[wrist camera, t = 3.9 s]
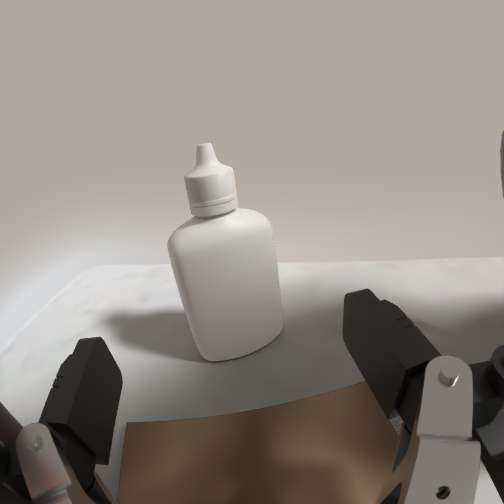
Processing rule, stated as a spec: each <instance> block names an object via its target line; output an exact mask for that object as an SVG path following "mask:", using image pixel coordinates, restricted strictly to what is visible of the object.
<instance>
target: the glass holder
mask: <svg viewBox="0 0 504 504" xmlns="http://www.w3.org/2000/svg"><path fill="white" fill-rule="evenodd" d="M500 152H501V179H502V189H503V197H504V131H503V133H502V141H501V150H500Z"/></svg>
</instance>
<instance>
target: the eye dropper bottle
mask: <svg viewBox="0 0 504 504" xmlns="http://www.w3.org/2000/svg"><path fill="white" fill-rule="evenodd" d="M184 179H185V183H186V189H187V194H188V199H189V204H190V209H191V214H192V215H194V217H193V218H192V219H190V220H188V221H187V222H185V223H184V224H183V225H181V226H180V227H179V228H177V229H176V230H175V231H174V232H173V233H172V235H171V236H170V238H169V240H168V252H169V256H170V260H171V264H172V268H173V272H174V276H175V279H176V283H177V286H178V290H179V293H180V297H181V300H182V304H183V307H184V310H185V313H186V317H187V320H188V323H189V326H190V329H191V332H192V335H193V338H194V341H195V344H196V346H197V348H198V350H199V352H200V354H201V356H202V357H203V358H205V359H206V360H208V361H224V360H230V359H235V358H239V357H242V356H245V355H248V354H250V353H253V352H255V351H257V350H259V349H261V348H262V347H264V346H266V345H267V344H269V343H270V342H271V341H273V340H274V339H275V338H276V337H277V336H278V335H279V334H280V333H281V331H282V329H283V316H282V306H281V295H280V285H279V276H278V267H277V258H276V249H275V242H274V235H273V229H272V226H271V223H270V222H269V220H268V219H267V218H266V217H265V216H263V215H262V214H260V213H258V212H256V211H253V210H249V209H243V208H237V207H238V199H237V192H236V186H235V179H234V173H233V168H231V167H229V166H226V165H223V164H221V163H219V162H218V160H217V159H216V156H215V153H214V150H213V147H212V145H211V143H206V144H201V145H197V156H196V166H195V168H194V169H193V170H192V171H191V172H189V173H188V174H187V175H186V176H185V178H184Z"/></svg>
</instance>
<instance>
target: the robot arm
mask: <svg viewBox="0 0 504 504" xmlns="http://www.w3.org/2000/svg"><path fill="white" fill-rule="evenodd" d="M343 339H344V342H345V345H346V347H347V349H348V351H349V353H350V354H351V356H352V358H353V359H354V361H355V363H356V365H357V366H358V368H359V370H360V372H361V373H362V375H363V377H364V378H365V380H366V382H367V384H368V385H369V387H370V389H371V391H372V392H373V394H374V396H375V398H376V400H377V401H378V403H379V405H380V407H381V408H382V410H383V412H384V414H385V416H386V417H387V419H388V420H390V419H392V418H394V417H397V416H399V415H400V417H401V418H402V420H403V423H402V426H401V430H400V435H399V439H398V442H397V446H396V450H395V454H394V457H393V461H392V464H391V467H390V471H389V474H388V477H387V479H386V481H385V483H384V485H383V487H382V489H381V492H380V494H379V496H378V499H377V501H376V504H474V499H475V493H476V487H477V480H478V473H479V465H480V458H481V460H482V462H483V464H484V466H485V467H486V469H487V471H488V473H489V475H490V477H491V479H492V481H493V483H494V485H495V487H496V489H497V491H498V493H499V495H500V497H501V499H502V502H503V504H504V411H503V410H504V345H503V346H500V347H498V348H497V349H496V350H495V351H494V353H493V355H492V357H491V359H490V361H486V362H482V363H476V364H471V365H467V364H466V363H465V362H464V361H463V360H461V359H460V358H457V357H454V356H448V355H445V356H442V355H441V354H440V353H439V352H438V351H437V350H436V348H435V347H434V346H433V345H432V344H431V343H430V342H429V340H428V339H427V338H426V337H425V336H424V335H423V334H422V332H421V331H420V330H419V329H418V328H417V327H416V326H414V323H413V322H412V321H411V320H410V319H409V318H407V316H406V315H405V314H404V312H403V311H402V310H401V309H400V308H399V307H398V306H396V305H394V304H392V303H391V302H389V301H387V300H381V301H380V300H379V299H378V298H377V297H376V296H375V295H374V294H373V293H372V291H371V290H370V289H363V290H359V291H355V292H351V293H347V294H346V295H345V298H344V315H343ZM56 377H57V379H55V381H54V383H53V385H52V386H53V388H51V390H50V393H49V395H48V398H47V401H46V403H45V406H44V409H43V411H42V414H41V417H40V420H39V422H38V423H32V424H30V425H27V426H26V427H25V428H23V429H22V430H21V432H20V433H19V435H18V437H17V439H16V440H13V441H7V442H1V441H0V497H1V491H2V486H3V485H4V486H6V487H7V488H8V489H10V490H11V491H13V496H12V502H11V504H116V502H115V501H114V500H113V498H112V497H111V495H110V493H109V492H108V490H107V489H106V487H105V486H104V484H103V482H102V481H101V479H100V478H99V476H98V474H97V473H96V472H95V471H94V470H95V464H101V465H108V464H109V457H110V450H111V444H112V438H113V432H114V426H115V420H116V415H117V410H118V405H119V400H120V395H121V390H122V384H123V382H122V375H121V371H120V369H119V367H118V365H117V364H116V362H115V360H114V358H113V356H112V354H111V353H110V351H109V349H108V347H107V345H106V343H105V341H104V340H103V339H102V338H101V337H93V338H83V339H80V340H79V341H78V343H77V345H76V347H75V349H74V352H73V354H70V355H69V356H68V358H67V359H66V360H65V361H64V362H63V363H62V364H61V366H60V369H59V371H58V373H57V376H56Z"/></svg>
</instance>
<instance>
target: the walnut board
mask: <svg viewBox="0 0 504 504" xmlns="http://www.w3.org/2000/svg"><path fill="white" fill-rule="evenodd" d="M398 439H399V437H398V435H397V433H396V432H395V430H394V428H393V426H392V424H391V422H390V421H389V420H388V419H387V417H386V416H385V414H384V412H383V410H382V408H381V407H380V405H379V403H378V401H377V400H376V398H375V396H374V394H373V392H372V391H371V389H370V387H369V385H368V384H367V382H366V381H364V382H361V383H358V384H355V385H352V386H348V387H345V388H342V389H339V390H335V391H332V392H328V393H325V394H321V395H317V396H314V397H310V398H306V399H302V400H298V401H294V402H289V403H285V404H281V405H276V406H271V407H266V408H261V409H256V410H250V411H245V412H239V413H233V414H226V415H219V416H211V417H203V418H194V419H184V420H173V421H158V422H132V423H127V425H126V432H125V439H124V446H123V454H122V462H121V471H120V481H119V491H118V504H376V501H377V499H378V496H379V494H380V492H381V489H382V487H383V485H384V483H385V481H386V479H387V477H388V474H389V471H390V467H391V464H392V461H393V457H394V454H395V450H396V446H397V442H398Z"/></svg>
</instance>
